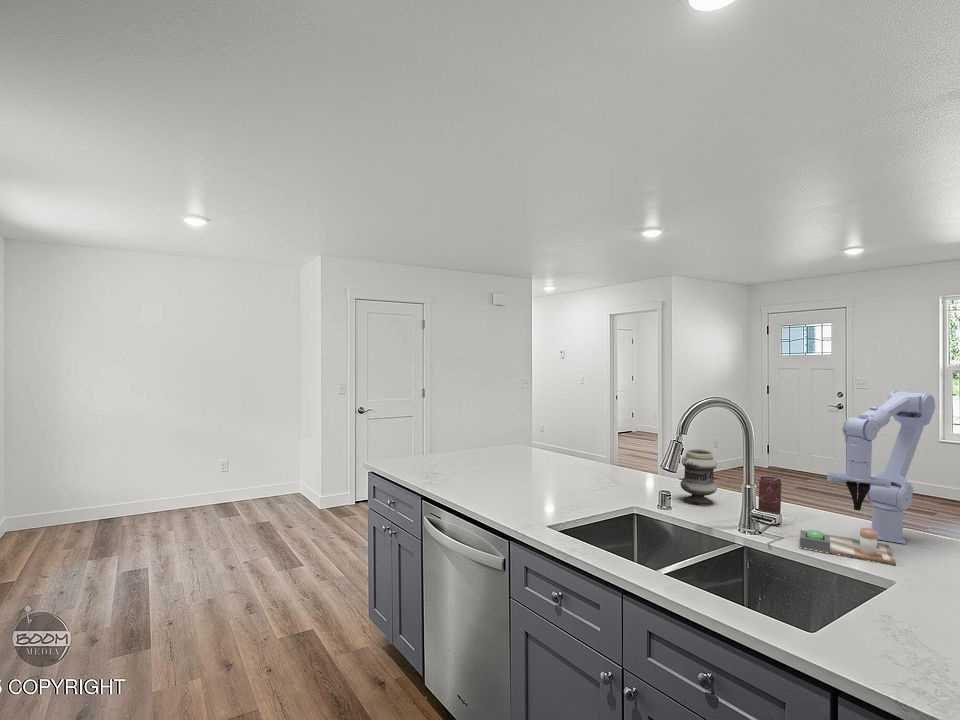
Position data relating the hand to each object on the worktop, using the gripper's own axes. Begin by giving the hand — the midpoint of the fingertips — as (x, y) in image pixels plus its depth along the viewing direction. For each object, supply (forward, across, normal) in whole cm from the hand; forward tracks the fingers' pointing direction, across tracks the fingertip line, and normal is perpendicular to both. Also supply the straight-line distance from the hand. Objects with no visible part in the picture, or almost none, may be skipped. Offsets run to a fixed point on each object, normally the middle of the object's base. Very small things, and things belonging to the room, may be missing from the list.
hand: (857, 509), depth 152 cm
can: (+10, -22, +8) cm, 25 cm away
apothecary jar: (+10, -45, +20) cm, 50 cm away
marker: (+9, +2, -9) cm, 13 cm away
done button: (+9, -10, -9) cm, 16 cm away
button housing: (+10, -10, -10) cm, 17 cm away
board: (+10, -3, -5) cm, 11 cm away
